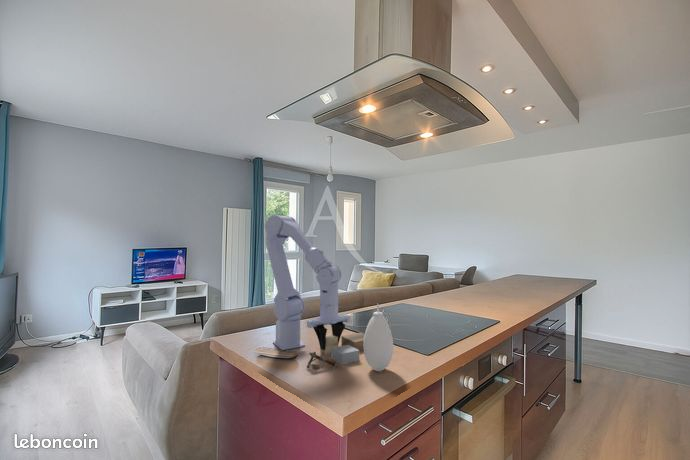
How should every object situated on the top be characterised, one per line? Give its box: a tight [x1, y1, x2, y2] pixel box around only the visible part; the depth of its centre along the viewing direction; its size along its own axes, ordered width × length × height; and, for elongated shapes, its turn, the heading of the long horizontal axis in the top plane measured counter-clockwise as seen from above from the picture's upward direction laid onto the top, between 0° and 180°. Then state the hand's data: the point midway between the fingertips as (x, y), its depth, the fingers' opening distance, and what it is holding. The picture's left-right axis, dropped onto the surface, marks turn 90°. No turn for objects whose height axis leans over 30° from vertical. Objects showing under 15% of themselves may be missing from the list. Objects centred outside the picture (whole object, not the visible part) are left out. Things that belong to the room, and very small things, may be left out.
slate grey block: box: [330, 345, 360, 366], centre depth 92 cm, size 6×6×3 cm
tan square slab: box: [340, 332, 365, 352], centre depth 104 cm, size 8×8×3 cm
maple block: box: [320, 333, 339, 356], centre depth 99 cm, size 4×4×5 cm
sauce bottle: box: [363, 303, 394, 372], centre depth 85 cm, size 8×8×18 cm
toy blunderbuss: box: [306, 351, 338, 370], centre depth 86 cm, size 2×8×4 cm, turn 98°
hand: (329, 347), depth 99 cm, fingers closed on maple block, 4 cm apart
